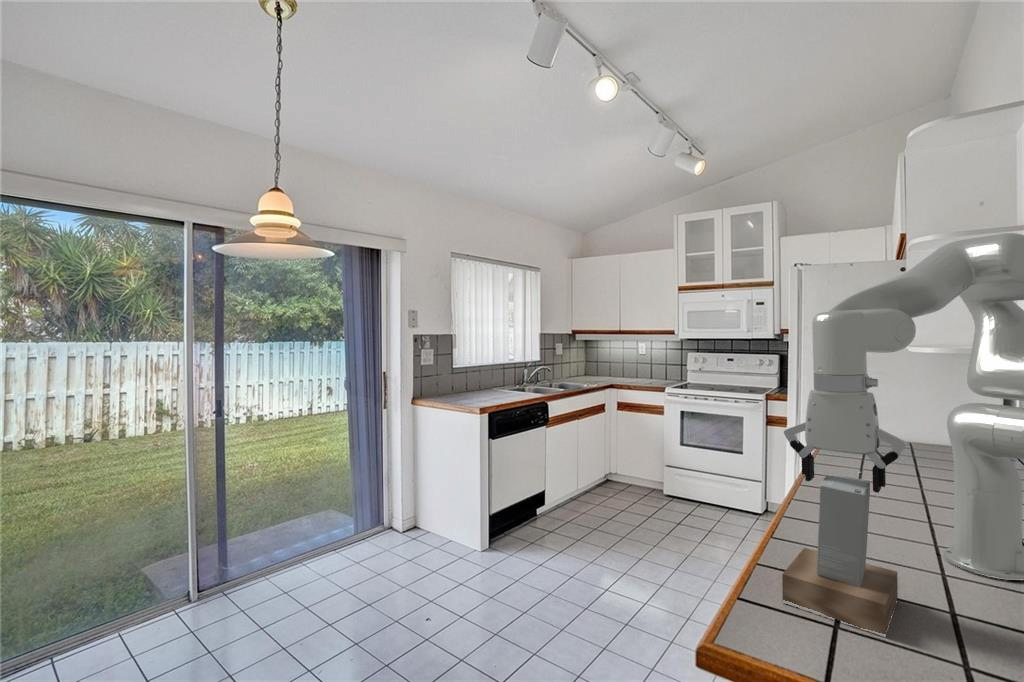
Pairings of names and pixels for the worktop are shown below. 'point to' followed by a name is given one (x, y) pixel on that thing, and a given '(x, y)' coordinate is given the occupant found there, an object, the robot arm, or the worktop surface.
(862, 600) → the walnut box
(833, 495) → the skincare box
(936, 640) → the worktop surface
